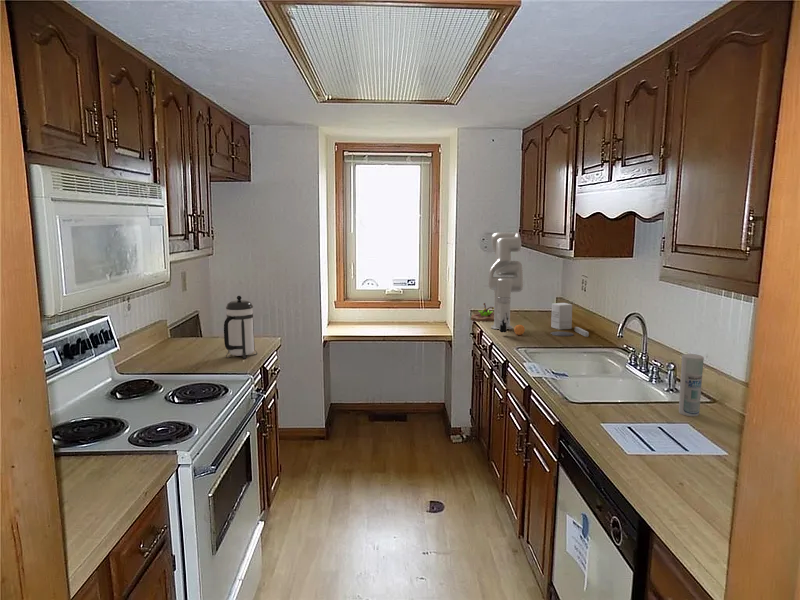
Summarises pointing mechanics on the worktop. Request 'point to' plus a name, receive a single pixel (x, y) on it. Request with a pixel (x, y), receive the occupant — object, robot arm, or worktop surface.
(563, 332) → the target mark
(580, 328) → the stopper wall
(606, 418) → the worktop surface
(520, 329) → the ball
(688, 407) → the spray can
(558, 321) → the supplement box
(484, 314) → the plant
